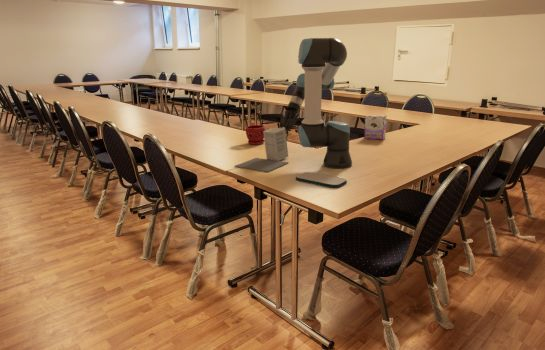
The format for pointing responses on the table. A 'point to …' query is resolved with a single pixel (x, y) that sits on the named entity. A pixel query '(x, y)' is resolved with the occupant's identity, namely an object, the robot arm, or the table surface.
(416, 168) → the table surface
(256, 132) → the plant pot
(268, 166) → the grey rubber mat
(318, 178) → the external hard drive
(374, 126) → the candy box
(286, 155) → the supplement box
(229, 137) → the table surface
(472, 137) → the table surface
